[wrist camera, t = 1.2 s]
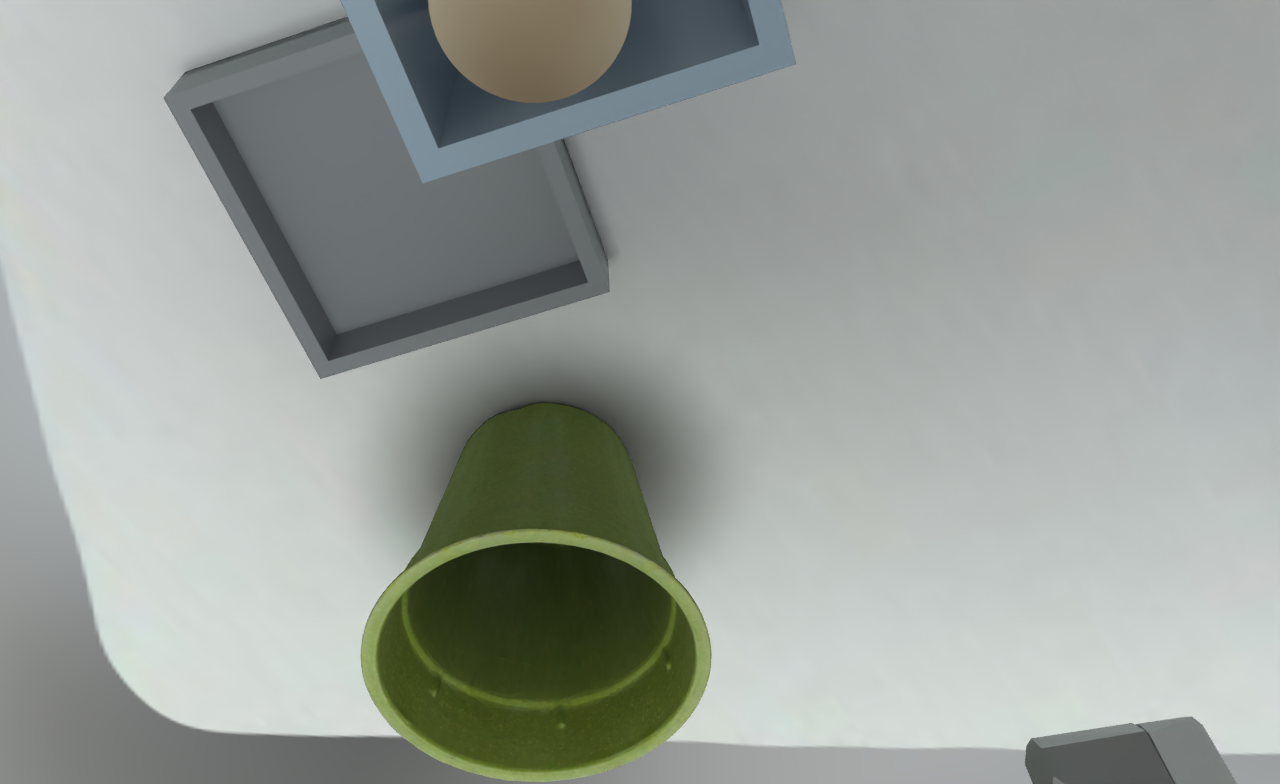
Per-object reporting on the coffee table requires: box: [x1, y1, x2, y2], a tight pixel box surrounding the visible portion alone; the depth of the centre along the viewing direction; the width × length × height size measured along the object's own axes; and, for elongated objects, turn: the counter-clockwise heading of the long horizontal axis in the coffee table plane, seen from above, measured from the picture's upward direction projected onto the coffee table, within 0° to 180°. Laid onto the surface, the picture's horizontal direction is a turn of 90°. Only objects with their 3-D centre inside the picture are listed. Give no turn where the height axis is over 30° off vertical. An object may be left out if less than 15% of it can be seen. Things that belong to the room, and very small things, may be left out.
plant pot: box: [361, 403, 711, 782], centre depth 45 cm, size 12×12×11 cm
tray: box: [164, 17, 610, 379], centre depth 41 cm, size 11×11×2 cm
